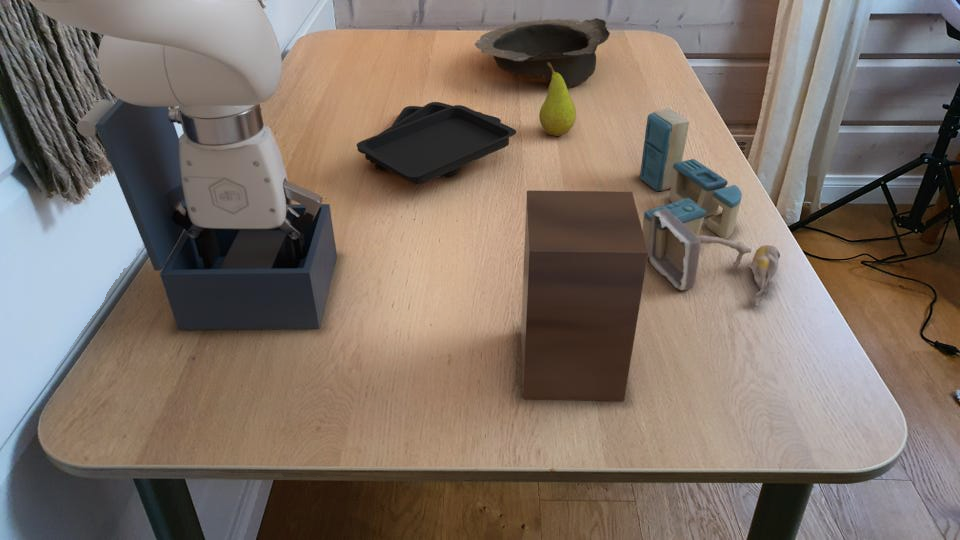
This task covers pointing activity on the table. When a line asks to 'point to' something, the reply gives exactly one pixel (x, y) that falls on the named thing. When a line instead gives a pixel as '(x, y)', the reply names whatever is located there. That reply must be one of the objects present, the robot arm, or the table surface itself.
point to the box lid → (142, 167)
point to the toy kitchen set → (683, 181)
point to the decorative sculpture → (686, 249)
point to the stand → (580, 293)
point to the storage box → (251, 284)
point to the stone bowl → (547, 48)
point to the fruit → (557, 107)
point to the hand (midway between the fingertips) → (254, 261)
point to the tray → (435, 141)
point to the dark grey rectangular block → (257, 250)
